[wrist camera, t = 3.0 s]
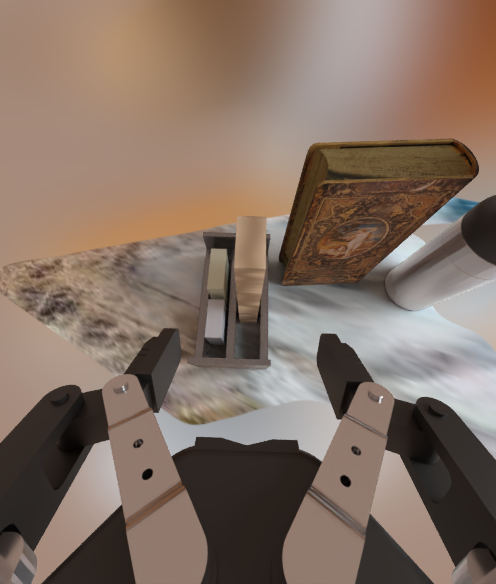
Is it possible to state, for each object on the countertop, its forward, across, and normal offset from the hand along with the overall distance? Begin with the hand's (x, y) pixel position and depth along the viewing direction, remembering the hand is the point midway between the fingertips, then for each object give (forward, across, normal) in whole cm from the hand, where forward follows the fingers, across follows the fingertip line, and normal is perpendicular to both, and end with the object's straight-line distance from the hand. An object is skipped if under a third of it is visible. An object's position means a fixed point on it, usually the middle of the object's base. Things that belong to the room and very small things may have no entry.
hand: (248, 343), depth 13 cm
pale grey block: (+25, +5, +15) cm, 30 cm away
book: (+34, -14, +7) cm, 37 cm away
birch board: (+28, 0, +12) cm, 30 cm away
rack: (+28, +2, +12) cm, 30 cm away
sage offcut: (+30, +5, +10) cm, 32 cm away
